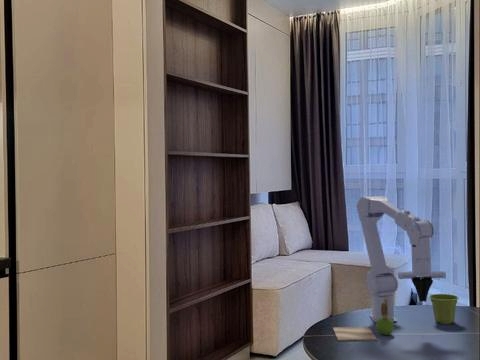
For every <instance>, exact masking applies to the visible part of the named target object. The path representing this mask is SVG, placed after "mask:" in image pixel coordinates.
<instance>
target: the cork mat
mask: <svg viewBox="0 0 480 360" xmlns="http://www.w3.org/2000/svg"><path fill="white" fill-rule="evenodd" d="M332 330H333V332H334V335H335V337H336V340H337V342H338V341H339V342H357V341H358V342H360V341H361V342H363V341H365V342H368V341H369V342H373V341H375V342H376V341H378V338H377V337H376V335H375V334H374V332H373V331H372V329H371V328H370V326H346V327H345V326H344V327H343V326H340V327H339V326H337V327H336V326H333V327H332Z"/></svg>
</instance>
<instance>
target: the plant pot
mask: <svg viewBox="0 0 480 360" xmlns="http://www.w3.org/2000/svg"><path fill="white" fill-rule="evenodd" d="M429 299H430V302H431V303H432V311H433V314H434V315H433V316H434V322H436V323H440V324H444V325H449V324H453V323H455V317H456V308H457V303H458V300H459V296H457V295H455V294H450V293H449V294H447V293H434V294H431V295H429Z"/></svg>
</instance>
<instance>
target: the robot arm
mask: <svg viewBox="0 0 480 360" xmlns="http://www.w3.org/2000/svg"><path fill="white" fill-rule="evenodd" d="M356 209H357V215H358V218H359V221H360V224H361V229H362V233H363V238H364V242H365V247H366V251H367V254H368V260H369V263H370V264H369V265H370V270H368V272H367V273H366V276H365V277H366V288H367V290H368V292H369V293H370V295H371V313H370V314H369V317H370V319H372V321H373V322H375V323H377V321H378V320H379V319H380V318H382V314H381V305H382V303H383V302H384V299H385V298H386V299H387V300H388V315H387V318H389V319H390V320H392V322H393V323H395V322H398V319H396V317H395V311H394V310H395V309H394V295H395V294H396V291H398V289H399V282H398V279H399V280H405V279H406V280H407V279H411V281H412V282H411V283H413V286H414V289H415V290H416V294H417V297H418V301H420V303H422V302H427V299H428V294H429V291H430V288H431V287H432V284H433V283H434V282H433V281H434V279H447V275H446V274H447V273H446V272H445V271H442V270H441V271H437V270H435V271H434V270H432V265H431V264H432V263H431V261H432V260H431V259H432V257H431V238H432V237H433V235H434V232H435V230H434V225H433V223H432V222H430V220H427V219H424V220H423V219H420V217H418V216H415V215H414V214H412V213H411V211H410V210H408V209H403V210H400V209H399V208H397V206H395V205H394V204H393V203H391V202H390V199H389V198H388V197H386V196H384V195H380V196H378V195H376V196H361V197H359V199H358V201H357V204H356ZM384 215H386V216H388V217H389V218H392V219H394V223H395V225H397V226H398V227H399V228H401V229H402V230H404V231H405V232H406V235H407V237H408V238H409V243H410V245H411V247H410V248H411V271H410V270H409V271H399V272H397V277H396V275H395V273H394V270H393V269H392V268H390V267H389V266H387V263H386V259H385V255H384V254H385V253H384V251H383V246H382V242H381V237H380V234H379V230H378V224H377V223H378V221H379V220H381V219H382V218H383V217H384ZM384 295H388V296H384Z"/></svg>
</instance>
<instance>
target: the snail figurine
mask: <svg viewBox="0 0 480 360" xmlns="http://www.w3.org/2000/svg"><path fill="white" fill-rule="evenodd" d="M384 296H388V295H384ZM381 314H382V318H380V319H379V320H378V321H377V322H376V324H375V326H376V330H377V331H378V333H380V334H381V335H384V336H387V335H390V334H392V333H393V331H394V329H395V325H394V322H392V320H390V319H389V318H387V315H388V300H387V299H386V298H385V299H384V302H383V303H382V305H381Z"/></svg>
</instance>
